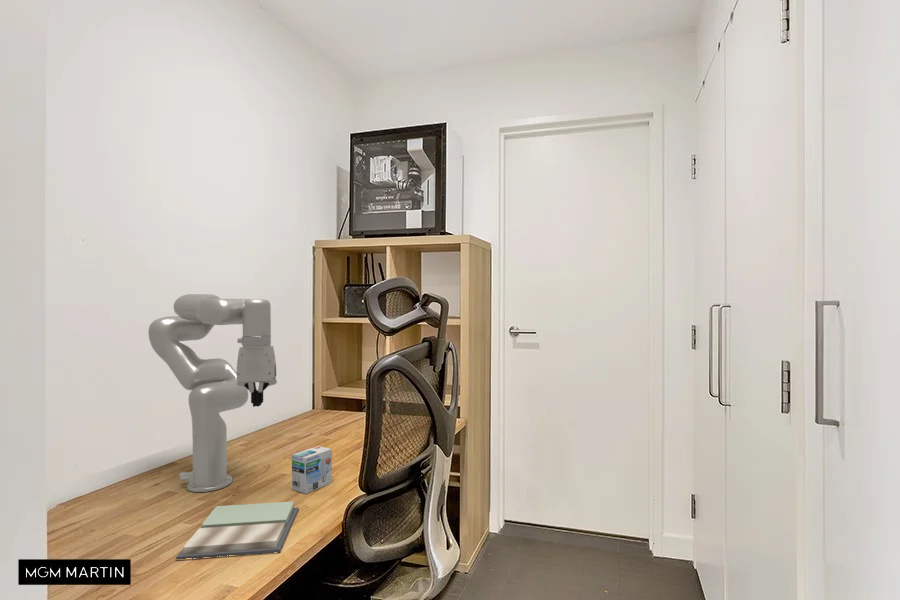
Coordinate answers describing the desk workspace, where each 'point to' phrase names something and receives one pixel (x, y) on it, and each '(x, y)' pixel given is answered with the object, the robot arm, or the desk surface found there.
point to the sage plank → (249, 514)
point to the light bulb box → (311, 469)
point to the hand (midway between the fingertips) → (257, 405)
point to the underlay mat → (249, 551)
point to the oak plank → (234, 538)
